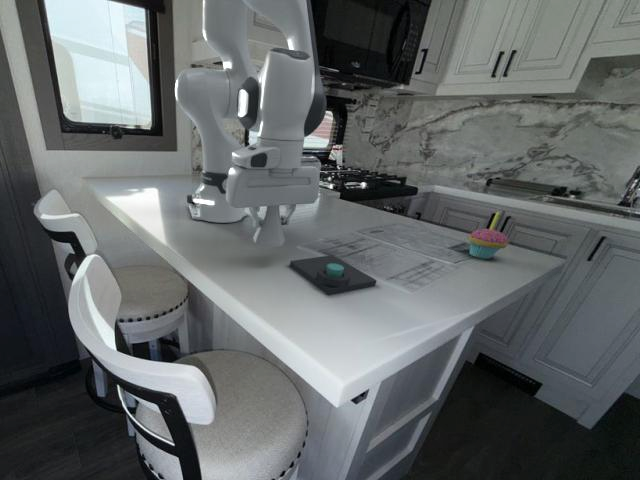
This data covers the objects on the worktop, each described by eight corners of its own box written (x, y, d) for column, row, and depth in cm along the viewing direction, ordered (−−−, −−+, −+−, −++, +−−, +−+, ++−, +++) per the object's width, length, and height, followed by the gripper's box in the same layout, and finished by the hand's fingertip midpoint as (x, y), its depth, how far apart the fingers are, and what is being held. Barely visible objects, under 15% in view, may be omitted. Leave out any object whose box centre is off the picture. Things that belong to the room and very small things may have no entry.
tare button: (322, 272, 61) (323, 264, 60) (334, 270, 62) (336, 262, 61) (332, 279, 59) (334, 271, 58) (345, 277, 60) (347, 269, 59)
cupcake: (458, 247, 86) (477, 204, 80) (493, 253, 84) (515, 209, 78) (466, 258, 79) (488, 212, 73) (504, 264, 77) (530, 217, 71)
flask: (283, 249, 64) (290, 201, 59) (250, 245, 65) (253, 197, 60) (286, 238, 70) (292, 193, 65) (255, 234, 71) (259, 190, 66)
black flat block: (289, 266, 69) (291, 254, 68) (331, 260, 74) (334, 248, 72) (328, 296, 58) (331, 282, 57) (375, 286, 63) (379, 273, 61)
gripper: (313, 153, 65) (302, 218, 72) (223, 152, 57) (221, 224, 65) (332, 158, 60) (318, 226, 67) (237, 157, 53) (233, 234, 60)
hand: (270, 225), depth 66 cm, fingers closed on flask, 5 cm apart
